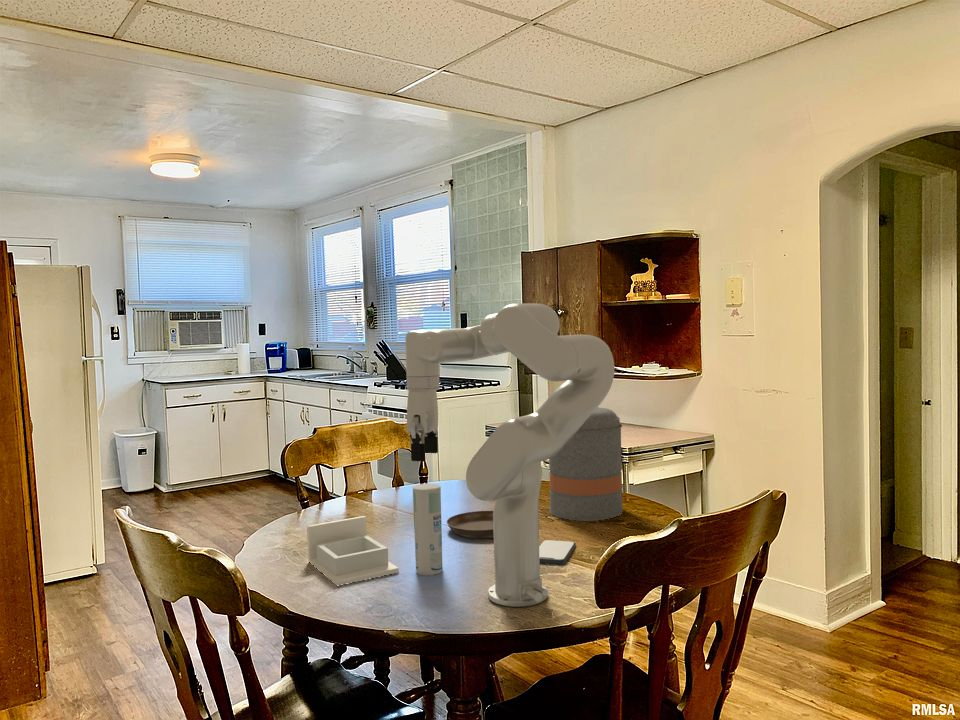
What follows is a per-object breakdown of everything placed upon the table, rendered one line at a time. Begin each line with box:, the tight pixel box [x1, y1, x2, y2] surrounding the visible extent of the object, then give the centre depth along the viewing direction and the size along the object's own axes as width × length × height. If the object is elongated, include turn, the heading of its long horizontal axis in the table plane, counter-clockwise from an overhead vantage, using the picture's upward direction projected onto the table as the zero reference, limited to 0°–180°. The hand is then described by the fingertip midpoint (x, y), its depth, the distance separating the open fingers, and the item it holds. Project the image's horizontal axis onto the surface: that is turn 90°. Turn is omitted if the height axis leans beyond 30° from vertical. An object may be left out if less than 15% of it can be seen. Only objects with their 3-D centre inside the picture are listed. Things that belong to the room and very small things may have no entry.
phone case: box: [539, 539, 577, 566], centre depth 181 cm, size 9×2×16 cm
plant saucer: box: [446, 510, 494, 539], centre depth 203 cm, size 21×21×3 cm
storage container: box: [548, 406, 624, 522], centre depth 219 cm, size 22×22×35 cm
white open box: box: [306, 515, 400, 586], centre depth 174 cm, size 20×15×9 cm
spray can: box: [412, 483, 444, 576], centre depth 170 cm, size 6×6×20 cm
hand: (425, 456), depth 169 cm, fingers open, 9 cm apart
